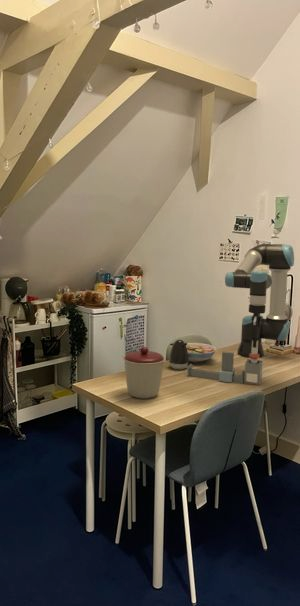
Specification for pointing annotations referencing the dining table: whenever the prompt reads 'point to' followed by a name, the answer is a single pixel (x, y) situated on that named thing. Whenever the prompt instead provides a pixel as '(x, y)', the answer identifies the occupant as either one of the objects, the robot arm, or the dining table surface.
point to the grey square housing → (253, 372)
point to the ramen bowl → (199, 351)
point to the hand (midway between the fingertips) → (254, 353)
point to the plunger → (254, 358)
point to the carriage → (227, 367)
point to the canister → (143, 372)
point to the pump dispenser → (179, 355)
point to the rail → (213, 374)
